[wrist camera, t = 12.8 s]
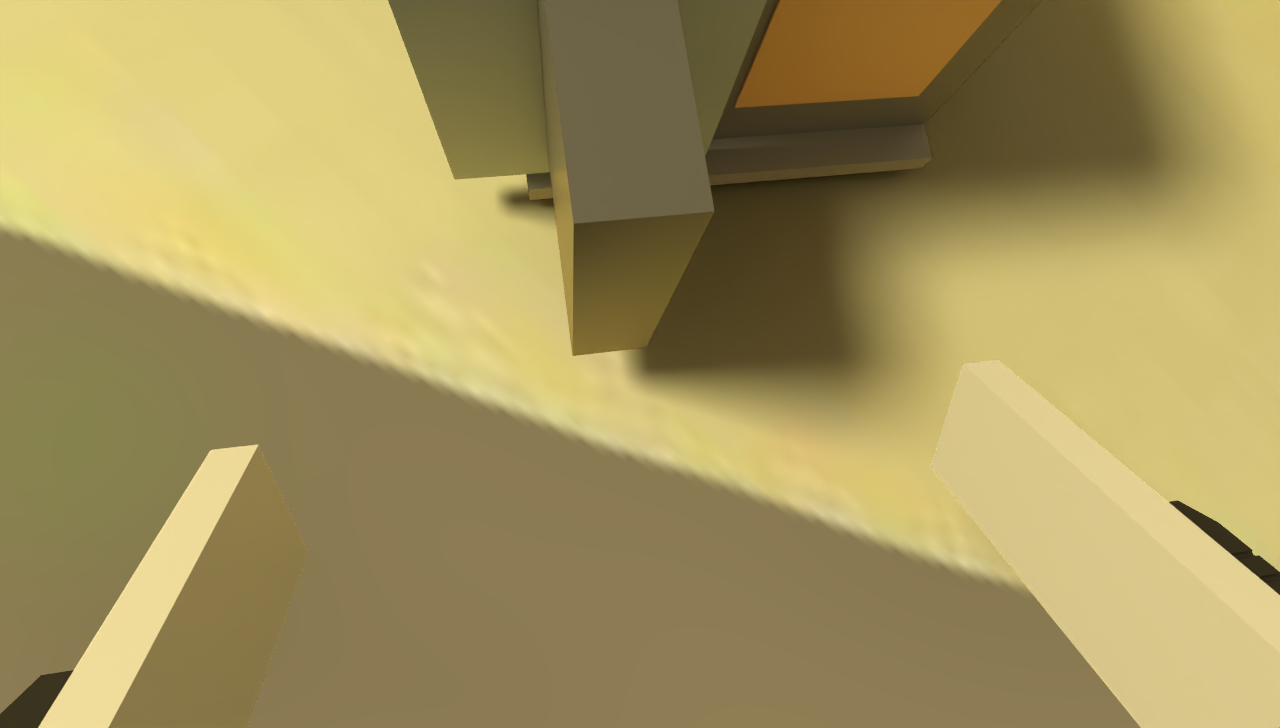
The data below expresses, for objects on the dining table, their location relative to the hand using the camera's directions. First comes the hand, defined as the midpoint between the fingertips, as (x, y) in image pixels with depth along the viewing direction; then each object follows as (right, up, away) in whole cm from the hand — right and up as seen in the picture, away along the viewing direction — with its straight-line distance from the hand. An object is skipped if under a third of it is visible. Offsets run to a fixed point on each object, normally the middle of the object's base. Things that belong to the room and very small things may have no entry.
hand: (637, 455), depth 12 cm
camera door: (-2, +6, +10) cm, 11 cm away
